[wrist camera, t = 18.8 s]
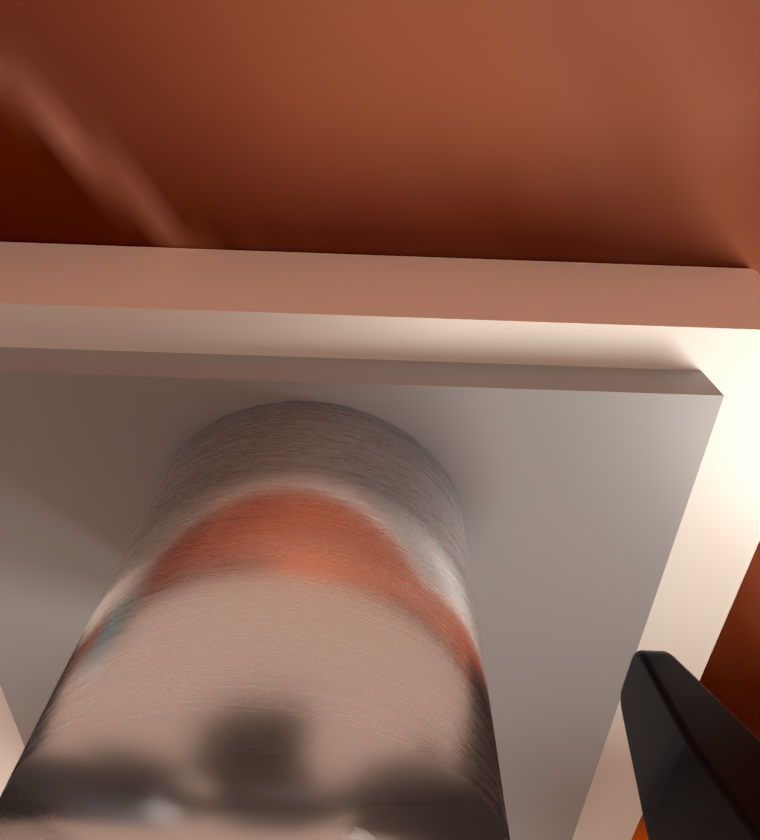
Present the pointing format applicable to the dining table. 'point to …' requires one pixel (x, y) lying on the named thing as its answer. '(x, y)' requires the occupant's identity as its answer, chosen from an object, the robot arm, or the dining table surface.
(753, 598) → the dining table surface
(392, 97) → the dining table surface
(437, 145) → the dining table surface
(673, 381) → the scale
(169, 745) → the cylinder
